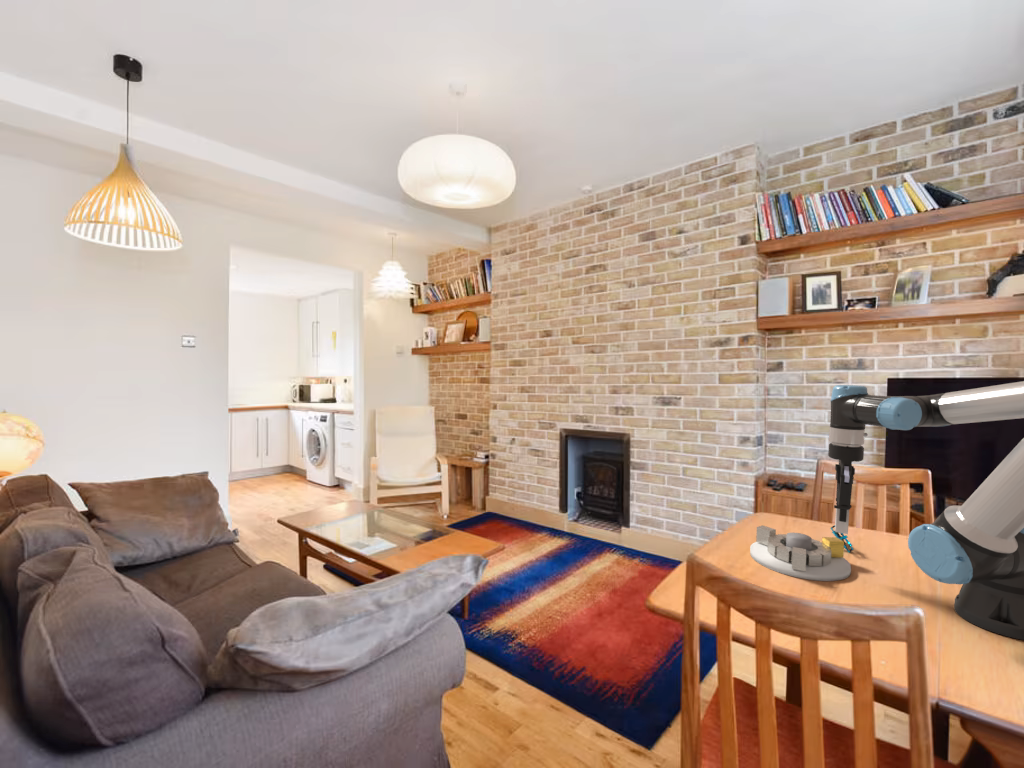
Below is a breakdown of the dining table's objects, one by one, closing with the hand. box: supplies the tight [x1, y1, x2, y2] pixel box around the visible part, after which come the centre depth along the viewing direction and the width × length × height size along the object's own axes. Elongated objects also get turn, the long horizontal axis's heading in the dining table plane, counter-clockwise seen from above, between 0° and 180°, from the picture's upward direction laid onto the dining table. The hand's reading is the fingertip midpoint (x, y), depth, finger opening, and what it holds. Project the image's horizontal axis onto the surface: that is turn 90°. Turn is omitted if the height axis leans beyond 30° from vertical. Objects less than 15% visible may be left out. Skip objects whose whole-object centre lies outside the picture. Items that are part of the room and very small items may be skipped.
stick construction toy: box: [830, 524, 854, 553], centre depth 142 cm, size 12×7×8 cm
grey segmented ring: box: [755, 525, 845, 572], centre depth 131 cm, size 21×19×4 cm
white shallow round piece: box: [749, 532, 852, 582], centre depth 131 cm, size 24×24×7 cm
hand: (841, 532), depth 124 cm, fingers closed
